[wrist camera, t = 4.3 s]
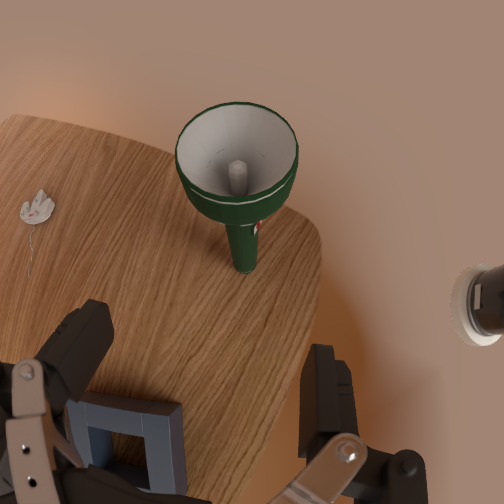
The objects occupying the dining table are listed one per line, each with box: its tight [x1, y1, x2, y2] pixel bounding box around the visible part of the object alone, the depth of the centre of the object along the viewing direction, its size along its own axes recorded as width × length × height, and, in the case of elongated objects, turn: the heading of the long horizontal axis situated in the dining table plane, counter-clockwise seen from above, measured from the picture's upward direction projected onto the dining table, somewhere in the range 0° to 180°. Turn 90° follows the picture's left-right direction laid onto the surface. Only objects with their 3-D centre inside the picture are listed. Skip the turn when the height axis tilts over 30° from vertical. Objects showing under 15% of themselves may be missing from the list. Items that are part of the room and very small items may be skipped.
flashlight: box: [175, 102, 299, 274], centre depth 21 cm, size 5×5×20 cm
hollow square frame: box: [66, 391, 188, 496], centre depth 22 cm, size 11×11×5 cm
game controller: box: [20, 190, 55, 276], centre depth 30 cm, size 6×12×3 cm, turn 20°
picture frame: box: [0, 447, 15, 496], centre depth 19 cm, size 16×3×21 cm
